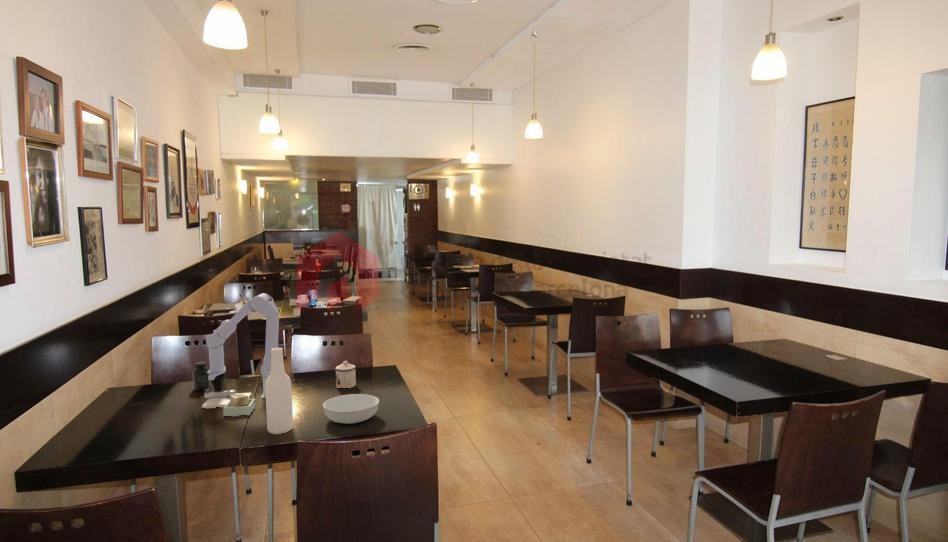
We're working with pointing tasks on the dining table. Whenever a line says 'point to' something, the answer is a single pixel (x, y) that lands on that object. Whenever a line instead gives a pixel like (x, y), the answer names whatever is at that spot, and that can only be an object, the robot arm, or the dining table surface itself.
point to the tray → (239, 409)
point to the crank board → (219, 401)
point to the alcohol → (278, 396)
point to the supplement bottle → (201, 376)
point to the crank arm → (219, 393)
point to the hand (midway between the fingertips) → (218, 391)
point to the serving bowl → (351, 408)
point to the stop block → (239, 400)
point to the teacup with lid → (345, 375)
